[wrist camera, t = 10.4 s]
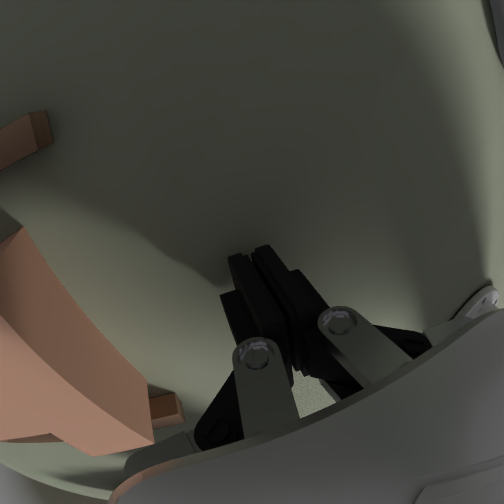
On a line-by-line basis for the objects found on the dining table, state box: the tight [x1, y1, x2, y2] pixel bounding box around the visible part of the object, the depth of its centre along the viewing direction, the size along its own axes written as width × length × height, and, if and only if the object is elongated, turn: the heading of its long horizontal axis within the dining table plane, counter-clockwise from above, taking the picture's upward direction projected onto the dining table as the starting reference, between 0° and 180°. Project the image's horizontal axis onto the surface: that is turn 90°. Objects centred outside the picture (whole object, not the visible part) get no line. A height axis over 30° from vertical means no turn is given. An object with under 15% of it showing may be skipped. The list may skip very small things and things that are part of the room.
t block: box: [0, 226, 155, 457], centre depth 9 cm, size 10×12×4 cm
